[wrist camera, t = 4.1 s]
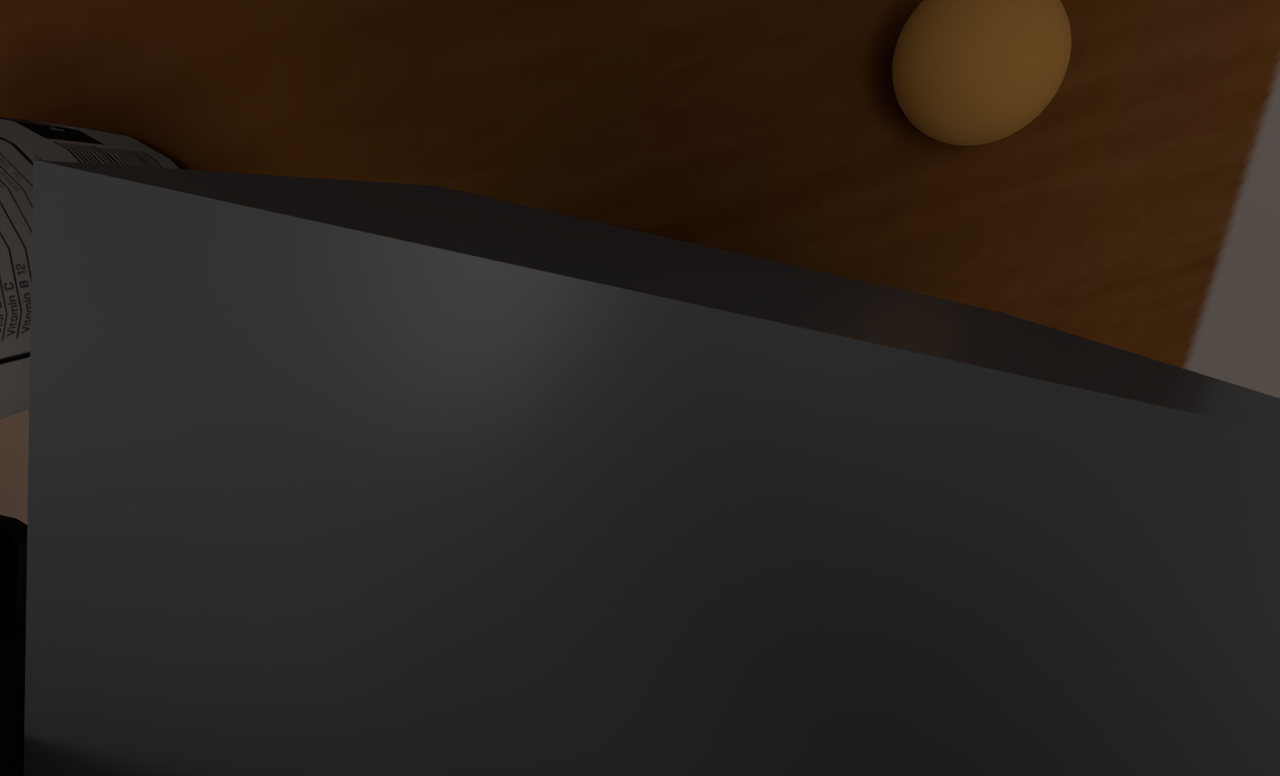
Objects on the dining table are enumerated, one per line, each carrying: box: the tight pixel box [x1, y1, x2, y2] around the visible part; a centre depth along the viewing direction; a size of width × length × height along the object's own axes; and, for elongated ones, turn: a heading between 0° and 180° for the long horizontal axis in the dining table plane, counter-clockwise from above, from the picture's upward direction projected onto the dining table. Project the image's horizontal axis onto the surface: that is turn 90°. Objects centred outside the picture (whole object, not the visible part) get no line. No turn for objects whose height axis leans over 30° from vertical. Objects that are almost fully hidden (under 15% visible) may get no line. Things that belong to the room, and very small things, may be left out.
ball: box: [892, 0, 1071, 146], centre depth 23 cm, size 5×5×5 cm
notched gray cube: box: [24, 160, 1280, 776], centre depth 10 cm, size 10×10×9 cm
